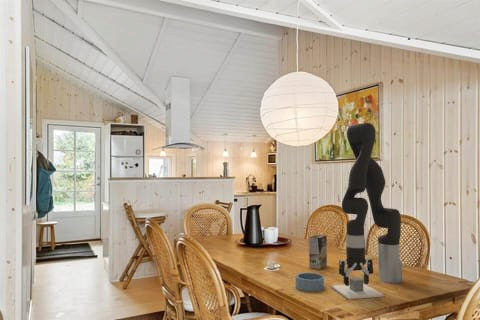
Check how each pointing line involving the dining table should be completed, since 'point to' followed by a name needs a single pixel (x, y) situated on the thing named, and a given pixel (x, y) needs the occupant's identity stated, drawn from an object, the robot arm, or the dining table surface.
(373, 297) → the mat
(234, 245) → the dining table surface
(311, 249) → the coffee box
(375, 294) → the lid
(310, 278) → the bowl
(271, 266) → the teacup and saucer
